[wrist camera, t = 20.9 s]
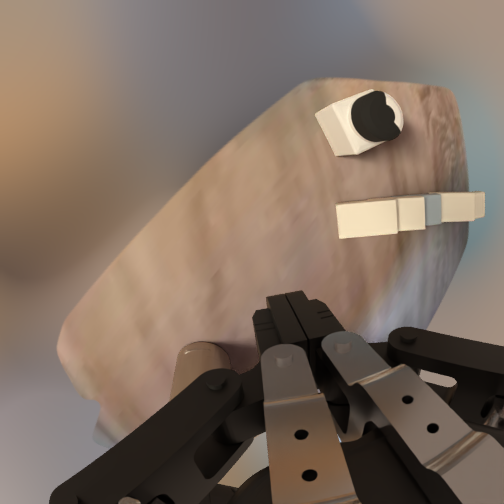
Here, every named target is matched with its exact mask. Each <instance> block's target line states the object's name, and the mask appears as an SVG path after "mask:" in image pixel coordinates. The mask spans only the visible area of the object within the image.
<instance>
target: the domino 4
mask: <svg viewBox="0 0 504 504" xmlns="http://www.w3.org/2000/svg"><path fill="white" fill-rule="evenodd" d="M431 193H437V194H441V222H456V221H474V219H475V193H473V192H429V194H431Z"/></svg>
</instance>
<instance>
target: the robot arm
mask: <svg viewBox="0 0 504 504" xmlns="http://www.w3.org/2000/svg"><path fill="white" fill-rule="evenodd" d="M266 302H267V309H261V310H256V311H255V313H254V315H253V317H252V319H253V325H254V331H255V338H256V344H257V349H258V354H259V359H260V361H259V363H258V364H257V365H256V366H255V367H254V368H253V369H251V370H250V371H248V372H246V373H243V374H241V375H239V374H238V373H237V372H235V371H233V370H231V367H230V359H229V357H228V355H227V353H226V352H225V351H224V350H223V349H222V348H220V347H219V346H217V345H215V344H211V343H207V342H196V343H192V344H189V345H187V346H186V347H184V348H183V349H182V350H181V351H180V352H179V354H178V357H177V362H176V367H175V372H174V377H173V383H172V388H171V394H170V400H169V402H168V403H167V404H166V405H165V406H164V407H162V408H161V409H160V410H159V411H158V412H156V413H155V414H154V415H153V416H151V417H150V418H149V419H148V420H147V421H145V422H144V423H143V424H142V425H140V426H139V427H138V428H137V429H135V430H134V431H133V432H132V433H130V434H129V435H128V436H126V437H125V438H124V439H123V440H121V441H120V442H119V443H117V444H116V445H115V446H114V447H112V448H111V449H110V450H108V451H107V452H106V453H104V454H103V455H102V456H100V457H99V458H98V459H96V460H95V461H94V462H92V463H91V464H89V465H88V466H87V467H85V468H84V469H83V470H81V471H80V472H78V473H77V474H76V475H74V476H72V477H71V478H70V479H68V480H67V481H65V482H64V483H62V484H61V485H59V486H58V487H57V488H56V489H55V490H54V491H53V492H52V494H51V496H50V500H49V504H504V346H499V345H493V344H488V343H483V342H478V341H473V340H469V339H464V338H459V337H453V336H450V335H445V334H440V333H436V332H431V331H427V330H423V329H418V328H414V327H401V328H397V329H395V330H393V331H392V332H391V333H390V334H389V337H388V342H380V343H367V342H366V341H365V340H364V339H363V338H362V337H361V336H360V335H358V334H356V333H353V332H348V331H345V329H344V328H343V327H342V325H341V324H340V323H339V321H338V320H337V319H336V317H335V316H334V315H333V313H332V312H331V311H330V309H329V308H328V307H327V305H326V304H325V303H323V302H321V301H319V300H317V299H314V300H308V298H307V297H306V295H305V294H304V292H303V291H302V290H301V291H295V292H290V293H285V294H279V295H274V296H268V297H266ZM421 369H422V370H426V371H429V372H434V373H438V374H441V375H445V376H449V377H452V378H454V379H455V380H456V381H457V383H456V384H455V385H454V386H453V387H444V386H440V385H436V384H432V383H428V382H425V381H423V380H422V379H421V378H420V377H419V375H420V371H421ZM317 389H319V390H320V392H321V393H318V390H317ZM264 432H266V437H267V448H268V458H269V466H268V467H266V468H264V469H262V470H260V471H259V472H257V473H255V474H254V475H253V476H251V477H250V478H249V479H247V480H246V481H245V482H244V483H243V484H242V485H241V486H240V487H239V488H236V487H231V486H225V485H221V484H217V483H218V482H219V481H220V480H221V479H222V478H223V477H224V476H225V475H226V473H227V472H228V471H229V470H230V469H231V468H232V466H233V465H234V464H235V463H236V462H237V461H238V459H239V458H240V457H241V456H242V455H243V453H244V452H245V451H246V450H247V448H248V447H249V446H250V445H251V443H252V442H253V439H254V437H255V436H257V435H259V434H261V433H264ZM337 434H338V435H337ZM338 436H339V438H340V439H341V442H340V441H339V438H338Z"/></svg>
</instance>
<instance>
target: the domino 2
mask: <svg viewBox="0 0 504 504" xmlns="http://www.w3.org/2000/svg"><path fill="white" fill-rule="evenodd" d="M388 198H394V199H395V200H396V211H397V231H406V230H420V229H425V204H424V197H423V196H404V197H388ZM375 199H387V198H374V199H368V200H375Z"/></svg>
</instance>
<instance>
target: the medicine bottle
mask: <svg viewBox="0 0 504 504" xmlns="http://www.w3.org/2000/svg"><path fill="white" fill-rule="evenodd" d="M315 117H316V118H317V120H318V122H319V124H320V126H321V128H322V130H323V132H324V134H325V136H326V138H327V140H328V142H329V144H330V146H331V148H332V150H333V152H334V154H335V156H337V157H338V156H349V155H358V154H360V153H362V152H364V151H366V150H368V149H370V148H373V147H375V146H377V145H379V144H381V143H383V142H385V141H390V140H393V139H395V138H396V137H398V136H399V134H400V133H401V131H402V128H403V114H402V111H401V108H400V106H399V105H398V103H397V102H396V101H395V99H394V98H393V97H391V96H390V95H389V94H387V93H385V92H381V91H374V90H373V89H370V90H367V91H364V92H362V93H359V94H356V95H353V96H351V97H348V98H345V99H343V100H340V101H338V102H335V103H333V104H331V105H329V106H327V107H326V108H324V109H322V110H320V111H318V112H317V113H315Z"/></svg>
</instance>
